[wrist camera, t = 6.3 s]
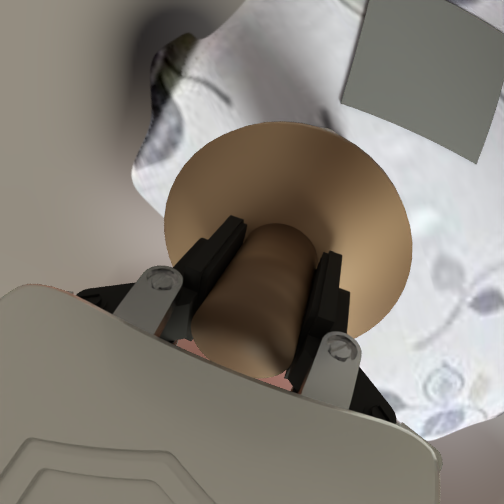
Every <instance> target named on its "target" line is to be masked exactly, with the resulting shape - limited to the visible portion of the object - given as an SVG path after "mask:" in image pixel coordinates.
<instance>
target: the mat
mask: <svg viewBox="0 0 504 504" xmlns="http://www.w3.org/2000/svg"><path fill="white" fill-rule="evenodd" d="M503 81H504V34H503V33H501V32H500V31H498V30H497V29H495V28H494V27H492V26H490V25H489V24H487V23H486V22H484V21H482V20H481V19H479V18H477V17H475V16H474V15H472V14H470V13H468V12H467V11H465V10H463V9H461V8H459V7H457V6H455V5H453V4H451V3H449V2H447V1H445V0H369V4H368V8H367V12H366V15H365V19H364V23H363V27H362V31H361V34H360V38H359V42H358V46H357V49H356V53H355V56H354V60H353V64H352V67H351V71H350V74H349V78H348V81H347V85H346V88H345V91H344V95H343V98H342V102H341V104H344V105H347V106H350V107H353V108H355V109H358V110H361V111H364V112H366V113H369V114H371V115H374V116H377V117H379V118H382V119H384V120H387V121H389V122H391V123H394V124H396V125H398V126H401V127H403V128H405V129H408V130H410V131H412V132H414V133H416V134H419V135H421V136H423V137H425V138H427V139H429V140H431V141H433V142H435V143H437V144H439V145H441V146H443V147H445V148H447V149H449V150H451V151H453V152H455V153H457V154H458V155H460V156H462V157H464V158H466V159H468V160H469V161H471V162H473V163H475V164H477V161H478V159H479V156H480V154H481V151H482V148H483V146H484V143H485V140H486V137H487V134H488V132H489V129H490V126H491V123H492V120H493V116H494V113H495V110H496V107H497V103H498V100H499V96H500V93H501V89H502V85H503Z"/></svg>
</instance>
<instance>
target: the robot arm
mask: <svg viewBox="0 0 504 504" xmlns="http://www.w3.org/2000/svg"><path fill="white" fill-rule="evenodd" d="M246 230H247V224H245V223H244V219H241V218H238V217H235V216H232V215H230V216H229V217H228V218H227V219H226V220H225V222H224V223H223V224H222V225H221V226H220V227H219V228H218V229H217V230H216V232H215V233H214V234H213V235H212V236H211V237H210V238H209V239H205V238H200V239H199V240H198V241H197V242H196V243H195V244H194V245H193V246H192V247H191V248H190V249H189V250H188V252H187V253H186V254H185V255H184V256H183V257H182V258H181V259H180V260H179V261H178V262H177V263H176V264H175V266H174V267H173V268H172V267H168V266H154V267H151V268H149V269H147V270H146V271H145V272H144V273H143V274H142V275H141V277H140V278H139V279H138V280H137V282H136V283H129V284H121V285H113V286H105V287H99V288H90V289H86V290H83V291H81V292H79V293H78V294H77V295H74V294H73V292H71V291H65V290H62V289H58V288H55V287H52V286H47V285H42V284H26V285H22V286H19V287H17V288H15V289H13V290H12V291H10V292H8V293H7V294H6V295H4V296H3V297H2V298H0V504H440V471H441V468H442V465H443V462H442V457H441V454H440V452H439V451H438V450H436V448H435V447H433V446H432V445H431V444H429V443H428V442H427V441H426V440H424V439H423V438H422V437H420V436H419V435H418V434H417V433H415V432H414V431H413V430H412V429H410V428H409V427H408V426H407V425H405V424H404V423H403V422H402V423H401V424H399V423H397V422H396V415H395V412H394V411H393V409H392V407H391V406H390V405H389V404H388V402H387V401H386V400H385V398H384V397H383V396H382V395H381V393H380V392H379V391H378V390H377V388H376V387H375V386H374V384H373V383H372V382H371V381H370V379H369V378H368V377H367V376H366V374H365V373H364V372H363V371H362V369H361V368H360V367H359V365H360V361H361V352H362V351H361V348H360V346H359V344H358V343H357V341H356V340H355V339H354V338H353V337H351V336H350V335H348V334H347V328H348V318H349V306H350V291H347V290H344V289H341V288H339V284H340V275H341V266H342V255H341V254H338V253H336V252H333V251H329V252H328V253H325V252H323V254H322V256H321V259H320V261H319V264H318V266H317V268H316V271H315V276H314V280H313V284H312V288H311V292H310V296H309V300H308V304H307V308H306V312H305V316H304V320H303V323H302V327H301V331H300V335H299V340H298V344H297V348H296V351H295V355H294V358H293V361H292V363H291V365H290V366H289V368H288V369H287V370H286V374H285V377H284V378H286V379H288V380H289V381H290V383H291V384H292V386H293V387H292V389H291V391H288V390H285V389H282V388H280V387H277V386H274V385H271V384H268V383H266V382H263V381H260V380H258V379H255V378H252V377H250V376H247V375H244V374H242V373H239V372H237V371H234V370H232V369H229V368H227V367H224V366H222V365H219V364H217V363H215V362H212V361H210V360H207V359H205V358H203V357H200V356H198V355H196V354H193V353H191V352H189V351H187V350H185V349H182V348H180V347H178V346H176V345H177V343H178V340H179V339H184V338H185V339H187V340H189V341H192V340H193V336H192V333H191V322H192V319H193V316H194V315H195V313H196V312H197V310H198V309H199V307H200V306H201V304H202V303H203V301H204V300H205V299H206V297H207V296H208V294H209V293H210V291H211V290H212V288H213V287H214V285H215V284H216V282H217V281H218V279H219V278H220V276H221V275H222V274H223V272H224V271H225V269H226V268H227V266H228V265H229V263H230V262H231V260H232V259H233V257H234V256H235V254H236V253H237V252H238V250H239V249H240V247H241V246H242V244H243V242H244V238H245V234H246Z"/></svg>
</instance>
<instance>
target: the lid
mask: <svg viewBox="0 0 504 504" xmlns="http://www.w3.org/2000/svg"><path fill="white" fill-rule="evenodd" d="M230 215H232V216H235V217H238V218H241V219H244V223H245V224H247V230H246V234H245V238H244V242H243V244H242V246H241V247H240V249H239V250H238V252H237V253H236V254H235V256H234V257H233V259H232V260H231V262H230V263H229V265H228V266H227V268H226V269H225V271H224V272H223V274H222V275H221V276H220V278H219V279H218V281H217V282H216V284H215V285H214V287H213V288H212V290H211V291H210V293H209V294H208V296H207V297H206V299H205V300H204V301H203V303H202V304H201V306H200V307H199V309H198V310H197V312H196V313H195V315H194V316H193V319H192V322H191V333H192V336H193V339H194V341H195V343H196V345H197V347H198V348H199V349H200V351H201V352H202V353H203V354H204V355H205V356H206V357H207V358H208V359H209V360H210V361H212V362H215V363H217V364H219V365H222V366H224V367H227V368H229V369H232V370H234V371H237V372H239V373H242V374H244V375H247V376H250V377H252V378H269V377H273V376H276V375H279V374H281V373H283V372H284V371H285V370H287V369H288V368H289V366H290V365H291V363H292V361H293V358H294V355H295V351H296V348H297V344H298V340H299V335H300V331H301V327H302V323H303V320H304V316H305V312H306V308H307V304H308V300H309V296H310V292H311V288H312V284H313V280H314V276H315V271H316V268H317V266H318V264H319V261H320V259H321V256H322V254H323V252H325V253H328V252H329V251H333V252H336V253H338V254H341V255H342V266H341V275H340V284H339V288H341V289H344V290H347V291H350V306H349V318H348V328H347V334H348V335H350V336H351V337H353V338H357V337H358V336H360V335H362V334H364V333H365V332H367V331H369V330H370V329H371V328H373V327H374V326H375V325H376V324H378V323H379V322H380V321H381V320H382V319H383V318H384V317H385V316H386V315H387V314H388V313H389V312H390V310H391V309H392V308H393V306H394V305H395V304H396V302H397V301H398V299H399V297H400V295H401V293H402V292H403V290H404V288H405V285H406V282H407V279H408V276H409V272H410V267H411V261H412V237H411V229H410V224H409V221H408V218H407V214H406V211H405V208H404V205H403V203H402V201H401V199H400V197H399V194H398V192H397V190H396V188H395V186H394V185H393V183H392V182H391V180H390V179H389V177H388V176H387V175H386V173H385V172H384V170H383V169H382V168H381V167H380V166H379V165H378V164H377V163H376V162H375V161H374V160H373V159H372V158H371V157H370V156H369V155H368V154H367V153H365V152H364V151H363V150H362V149H360V148H359V147H358V146H357V145H355V144H353V143H352V142H350V141H348V140H347V139H345V138H343V137H341V136H340V135H338V134H335V133H333V132H330V131H328V130H325V129H323V128H320V127H316V126H312V125H308V124H303V123H296V122H285V121H279V122H263V123H258V124H253V125H248V126H245V127H242V128H239V129H237V130H234V131H231V132H229V133H226V134H224V135H222V136H220V137H218V138H216V139H215V140H213V141H211V142H209V143H208V144H206V145H205V146H204V147H203V148H201V149H200V150H199V151H198V152H196V153H195V154H194V155H193V156H192V157H191V158H190V160H189V161H188V162H187V163H186V164H185V165H184V167H183V168H182V169H181V171H180V172H179V174H178V175H177V177H176V179H175V181H174V183H173V185H172V188H171V190H170V193H169V196H168V200H167V203H166V209H165V216H164V232H165V240H166V246H167V250H168V254H169V258H170V260H171V263H172V265H173V267H174V266H175V264H176V263H177V262H178V261H179V260H180V259H181V258H182V257H183V256H184V255H185V254H186V253H187V252H188V250H189V249H190V248H191V247H192V246H193V245H194V244H195V243H196V242H197V241H198V240H199V239H200V238H205V239H209V238H210V237H211V236H212V235H213V234H214V233H215V232H216V230H217V229H218V228H219V227H220V226H221V225H222V224H223V223H224V222H225V220H226V219H227V218H228V217H229V216H230Z"/></svg>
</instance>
